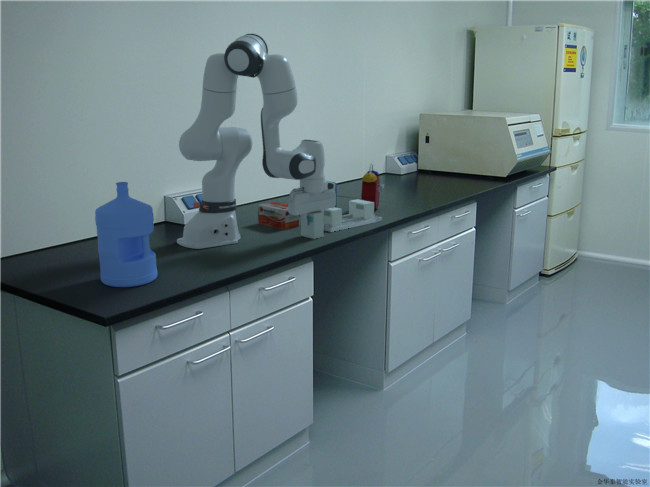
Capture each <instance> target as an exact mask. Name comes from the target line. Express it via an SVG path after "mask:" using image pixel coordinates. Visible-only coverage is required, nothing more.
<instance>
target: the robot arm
mask: <svg viewBox="0 0 650 487" xmlns="http://www.w3.org/2000/svg"><path fill="white" fill-rule="evenodd" d="M268 53H269V48H268V44H267V42H266V40H265V39H264V38H263V37H262V36H261V35H259V34H256V33H246V34H244V35H242V36H239V37H238V38H236V39H235V40H234V41H233V42H231V43H230V44H229V45H228V46H227V47H226V48H225V51H224V53H221V52H218V53H214V54H212V55H210V56H208V58H207V60H206V62H205V66H204V72H203V76H202V77H203V80H202V92H201V93H202V94H201V102H200V103H201V104H200V110H199V112H198V115H197V117H196V119H195V121H194V122H193V124H192V125H190V127H188V128H187V129H186V130H184V131H183V133H182V134H181V136H180V137H179V141H178V148H179V151H180V153H181V155H182V156H183V158H184V159H186V160H187V161H194V162H195V161H196V162H207V161H208V162H209V161H215V165H214V166H213V168H212V169H210V171H207V172H206V173H205V174H204V175H203V177H202V180H201V187H202V188H201V191H202V192H201V193H202V200H201V201H200V202H198V201H193V202H192V203H193V204H192V205H193V208H196V209H198V212H197V213H195V214H194V216H193V217H192V218H191V219H189V221H187V222H186V223H185V225H184V227H183V231H182V237H180V238H177V239H176V243H177V244H178V245H179V246H180V247H181V246H182V247H185V248H189V249H196V250H197V249H198V250H200V249H206V248H213V247H221V246H226V245H227V246H228V245H233V244H238V243H239V240H240V239H241V234H240V230H239V228H238V220H237V216H236V215H237V214H236V213H237V199H236V198H235V195H236V194H235V183H236V182H235V181H236V174H237V171H238V169H239V166H240V165H241V163H242V161H244V159H245V158H246V157H247V156H249V154H250V153H251V151H252V149H253V138H252V135H251V134H250V132H249V131H248V129H246V128H241V127H236V126H225V127H221V125H222V124H223V122H225V121H227V120H228V119H229V118H231V117H232V116H233V115H234V113H235V111H236V101H237V88H238V86H237V85H238V77H239V76H240V77H248V78H249V77H250V78H253V79H254V78H256V77H257V78H258V81H259V83H260V87H261V93H262V100H263V101H262V102H263V104H262V108H261V109H260V110H261V111H260V129H261V140H262V160H261V162H262V169H263V171H264V173H265V175H267V176H268V177H269V178H274V179H286V180H294V181H299V187H297V188H292V190H291V191H290V192H289V198H288V203H287V204H288V212H289V214H291V215H295V216H296V215H299V217H300V219H301V218H302V220H303V225H305V226H307V225H309V220H307V218H306V216H307V213H311V212H316V211H319V212H324V210H326V209H331V208H334V207H335V205H336V193H335V190H334V189H335V183H336V182H335V183H332V182H333V181H331V182H328V181H329V180H325V178H326V176H325V173H324V171H325V170H324V169H325V166H326V165H325V163H326V162H325V161H326V159H325V148H324V145H323V143H322V142H321V141H319V140H311V139H302V140H301V142H300V144H299V145H298V146H297V147H295V148H294V149H291V150H285V149H283V148H282V146H281V140H280V129H279V128H280V122H281V120H283V119H284V118H286V117H287V116H289V115H291V114H292V113H294V112H293V111H295V109H296V107H297V105H298V92H297V88H296V82H295V78H294V74H293V71H292V68H291V66H290V65H291V64H290V63H289V61H288V59H287V58H286V57H285V56H284V55H281V54H268Z"/></svg>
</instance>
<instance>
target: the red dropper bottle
mask: <svg viewBox="0 0 650 487" xmlns="http://www.w3.org/2000/svg"><path fill="white" fill-rule="evenodd" d="M380 176H381V175H380V174H379V172H378V171H377V170H374V164H372V163H370V165H369V169H368V171H367V172H366V173H365V174H364V175H363V177H361V180H362V184H361V196H360V197H361V199H360V200H364V201H369V202H374V211H378V209H379V205H380V194H381V193H382V192H383V190H382V189H384V188H385V183H382V184H381V183H380Z"/></svg>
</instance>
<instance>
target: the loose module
mask: <svg viewBox="0 0 650 487" xmlns="http://www.w3.org/2000/svg"><path fill="white" fill-rule="evenodd" d="M306 218H307V220H309V225H307V226H305V225H303V220H302V218H301V217H300V234H301V237H303V238H304V237H305V238H308V239H312V240H317V239H316V238H318V239H321V238H320V237H322V238H324V232H325V231H324V212H319V211H316V212H311V213H307V216H306Z"/></svg>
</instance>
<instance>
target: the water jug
mask: <svg viewBox="0 0 650 487" xmlns="http://www.w3.org/2000/svg"><path fill="white" fill-rule="evenodd" d="M128 184H129V182H127V181H119V182H115V185H116V198H115V197H114V198H113V199H112V200H109V201H108V202H107V203H105V204H102V205H100V206H99V207H97V208H96V209H95V211H94V214H95V215H94V216H95V218H94V220H95V221H94V222H95V227H96V234H97V252H98V256H99V257H98V258H99V268H100V274H99V276H100V280H101V282H102V283H103V285H106V286H109V287H111V288H112V287H114V288H131V287H134V288H135V287H138V286H144V285H147V284H150V283H151V282H154V281H155V280H156V279H157V277H158V268H157V255H156V253H155V251H153V250H152V249H151V246H150V235H151V234H152V233H153V232H154V230H155V227H154V226H155V225H154V221H155V220H154V219H155V217H154V211H153V207H152V206H151V205H150V204H148V203H145V202H143V201H140V200H138V199H135V198H133V197H131V196H130V195H129V190H130V189H129V186H128Z"/></svg>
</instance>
